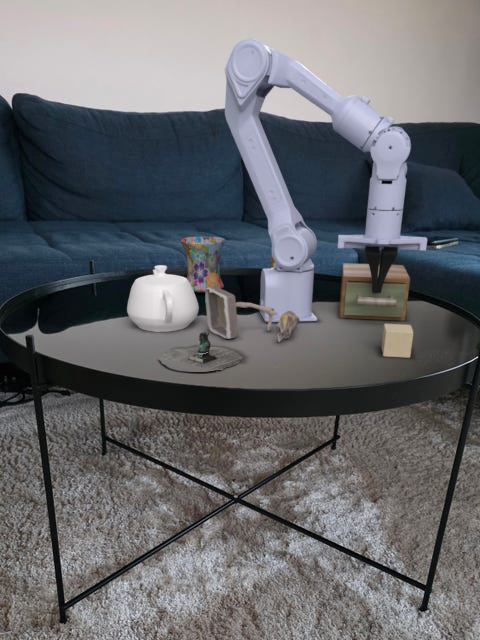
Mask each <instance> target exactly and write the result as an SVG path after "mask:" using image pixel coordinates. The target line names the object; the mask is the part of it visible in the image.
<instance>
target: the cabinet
mask: <svg viewBox="0 0 480 640" xmlns="http://www.w3.org/2000/svg"><path fill="white" fill-rule="evenodd" d="M379 267H380V264H379ZM378 274H379V269H378ZM349 281H366V282H372V277H371V271H370V267H369V263H347V262H346V263H345V262H343V263H342V273H341V284H340V285H341V286H340V297H339V298H340V300H339V318H340V319H357V320H359V319H360V320H381V321H406V315H407V305H408V299H409V292H410V285H411V284H410V283H411V277H410V276H409V274H408V272H407V269H406V267H405V266H404V265H403V264H392V266H391V267H390V269H389V271H388V273H387V275H386V278H385V280H384V282H393V283H401V284H406V285H407V287H406V295H405V303H404V310H403V317H380V316H358V315H344V306H345V294H346V282H349Z"/></svg>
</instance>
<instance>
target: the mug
mask: <svg viewBox="0 0 480 640" xmlns="http://www.w3.org/2000/svg"><path fill="white" fill-rule="evenodd" d="M180 243H181V245H182V247H183V250H184V253H185V256H186V261H187V275H186V276H187V277H186V278H187V280H188V281H189V283H190V284H191V286H192V289H193V291H194V293H198V294H205V290H206V288H209V287H217V288H220V289H222V290H223V289H224V287H225V286H224V283H223V280H222V278H221V271H220V263H221V255H222V252H223V248H224V246H225V244H226V239H225V238H223V237H218V236H203V235H202V236H189V237H184V238H182V239H180Z"/></svg>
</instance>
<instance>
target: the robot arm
mask: <svg viewBox="0 0 480 640" xmlns="http://www.w3.org/2000/svg"><path fill="white" fill-rule="evenodd" d="M224 74H225V79H226V80H225V81H226V83H225V84H226V85H225V102H224V117H225V121H226V123H227V125H228V127H229V130H230V133H231V135H232V137H233V140H234V142H235V144H236V148H237V149H238V152H239V153H240V156H241V159H242V161H243V164H244V166H245V168H246V171H247V173H248V175H249V178H250V180H251V182H252V186H253V187H254V190H255V193H256V194H257V197H258V199H259V202H260V204H261V206H262V209H263V212H264V214H265V216H266V218H267V232H268V235H269V237H270V241H271V257H272V256H273V259H274V261H275V263H274V267H273V268H271V267H270V268H269V267H268V268H262V269H261V272H260V273H261V274H260V295H259V297H260V299H259V305H260V306H264V307H270V308H271V309H272V310H273V311H275V312H277V315H274V316H272V323H278V322H279V321H280V318H281V316H282V315H283V314H284V313H285V312H287V311H292V312H294V313H295V315H296V316H297V317H298V318H299V320H300V321H299V322H317V321H318V317H317V316H316V315H315V314H314V312H312V310H313V293H314V277H315V276H314V275H315V264H314V263H313V261H312V258H311V257H312V256H313V255H314V254H315V252H316V249H317V245H318V241H317V236H316V234H315V232H314V231H313V230H312V229H311V228H310V227H309V226H307V224H306V223H305V221H304V218H303V215H301V213H300V212H299V211H298V208H296V207H295V205H294V202H293V199H292V197H291V195H290V192H289V190H288V187H287V184H286V182H285V179H284V177H283V174H282V172H281V169H280V166H279V164H278V162H277V159H276V156H275V154H274V152H273V150H272V147H271V144H270V142H269V140H268V138H267V135H266V133H265V130H264V128H263V125H262V122H261V120H260V117H259V115H260V113H261V109H262V107H263V104H264V102H265V100H266V97H267V96H268V95H269V93H270V92H271V91H272V90H273V89H274V87H277V88H280V89H292V90H293V91H294V92H296V93H297V94H299V95H300V96H302V97H303V98H304V99H306V100H308V101H309V102H310V103H311V104H313V105H315V106H316V107H318V108H319V109H320V110H322V111H323V112H325V113H326V114H327V115H329V116H330V118H331V124H332V129H333V131H334V132H336V133H337V134H338V135H340V136H342V137H343V138H344V139H345V140H346V141H348V142H349V143H351V144H352V145H353V146H355V147H356V148H357V149H359V150H360V151H361V152H363V153H368V152H369V153H370V157H371V159H372V161H373V163H372V172H371V177H370V179H369V188H368V198H367V210H366V220H365V232H364V234H338V236H337V249H364V254H365V257H366V260H367V264H369V267H370V271H371V277H372V292H373V293H381V290H382V286H383V283H384V280H385V278H386V275H387V273H388V271H389V269H390V267H391V266H392V265H394V262H395V261H396V258H397V257H398V255H399V252H398V250H411V251H421V252H424V251H427V245H428V238H427V237H426V236H409V235H401V230H402V222H403V213H404V204H405V195H406V187H407V178H406V175H407V173H408V162H406V161H407V159H408V157H409V156H410V153H411V149H412V143H411V138H410V136H409V134H408V133H407V132H406V131H405V130H404V128H403V127H400V126H393V123H394V122H395V119H394V118H393V117H391V116H390V115H389V116H387V117H386V116H384V114H382V113H381V112H379V111H378V110H377V109H376V108H374V107H373V106H371V105H370V103H371V100H370V99H369V98H367V97H366V96H365V95H362V96H361V97H360V96H358V95H356V94H352V95H349V96H345V97H344V96H341V94H339V93H338V92H337V91H335V90H334V89H333V88H332V87H331V86H329V85H328V84H326V83H325V82H324V81H323V80H322V79H320V78H319V77H318V76H316V75H315V74H314V73H313V72H312V71H310V70H309V69H308V68H307V67H305V66H304V65H303V64H302V63H300V62H299V61H298V60H296V59H294V58H292V57H290V56H288V55H286V54H284V53H282V52H280V51H279V50H276V49H275V48H272V47H271V46H268V45H265V44H264V43H263V42H262V41H260V40H258V39H256V38H253V37H246V38H244V39H242V40H240V41H239V42H237V43H236V44H235V45H234V47H233V48H232V49H231V52H230V55H229V57H228V60H227V61H226V64H225V67H224ZM379 265H380V267H379ZM378 269H379V274H378ZM259 313H260V315H261V316H262V318H263V320H264V322H265V323H268V322H269V315H268V314H267V313H266V312H263V311H261V310H259Z"/></svg>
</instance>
